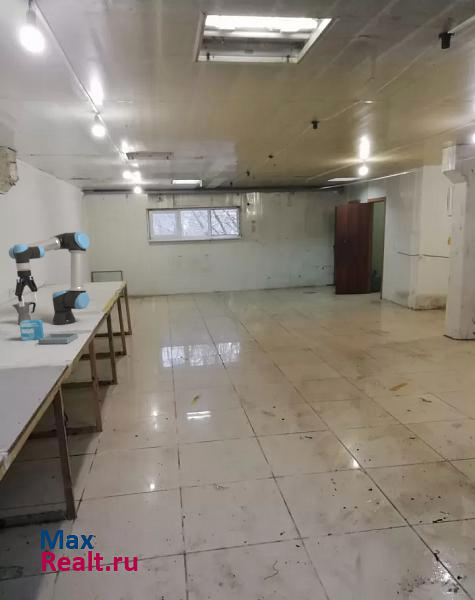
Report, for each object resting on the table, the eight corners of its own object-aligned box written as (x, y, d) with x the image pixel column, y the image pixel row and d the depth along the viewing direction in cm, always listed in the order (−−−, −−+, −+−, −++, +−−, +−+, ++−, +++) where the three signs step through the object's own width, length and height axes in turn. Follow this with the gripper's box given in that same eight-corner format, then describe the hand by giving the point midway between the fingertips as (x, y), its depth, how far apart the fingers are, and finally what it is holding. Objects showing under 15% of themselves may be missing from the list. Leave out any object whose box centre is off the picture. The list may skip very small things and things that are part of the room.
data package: (21, 341, 261) (19, 322, 258) (23, 339, 265) (21, 320, 263) (42, 339, 263) (39, 320, 261) (44, 337, 267) (41, 318, 265)
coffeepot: (15, 326, 302) (11, 301, 299) (14, 324, 310) (11, 300, 307) (39, 323, 310) (35, 298, 307) (37, 320, 318) (34, 297, 315)
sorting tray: (50, 338, 264) (50, 333, 263) (77, 337, 262) (77, 333, 261) (38, 344, 250) (38, 339, 250) (67, 344, 249) (66, 339, 248)
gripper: (29, 267, 269) (33, 300, 272) (5, 272, 244) (10, 308, 248) (40, 267, 268) (45, 300, 272) (17, 272, 243) (22, 308, 247)
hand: (28, 304), depth 260 cm, fingers open, 13 cm apart
